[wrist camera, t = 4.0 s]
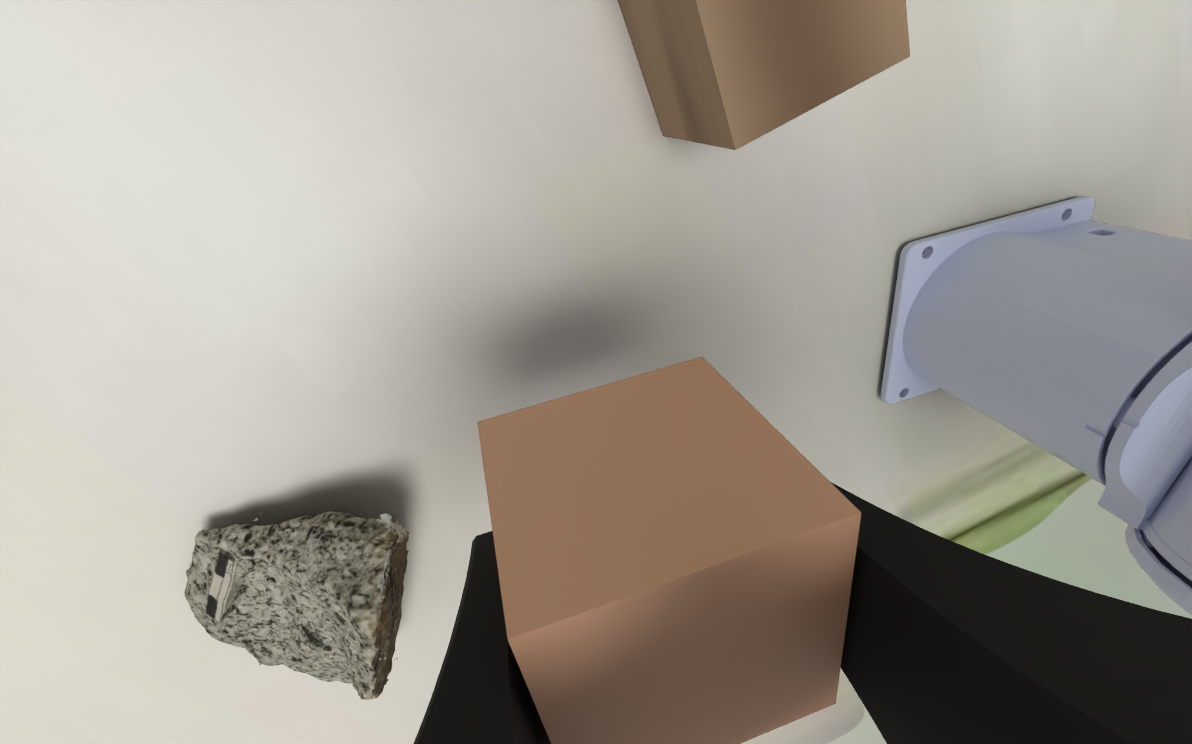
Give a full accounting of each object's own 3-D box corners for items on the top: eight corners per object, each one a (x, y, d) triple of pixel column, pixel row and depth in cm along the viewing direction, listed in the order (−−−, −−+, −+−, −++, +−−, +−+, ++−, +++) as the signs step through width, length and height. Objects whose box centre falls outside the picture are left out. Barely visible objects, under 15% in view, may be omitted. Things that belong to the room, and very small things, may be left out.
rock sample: (27, 561, 14) (234, 800, 12) (287, 399, 19) (464, 555, 17) (167, 643, 22) (307, 797, 20) (327, 513, 27) (451, 629, 25)
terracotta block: (702, 356, 11) (861, 512, 7) (712, 517, 14) (835, 703, 10) (477, 421, 11) (507, 639, 6) (532, 580, 13) (579, 811, 9)
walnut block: (758, -123, 15) (889, -211, 10) (794, 64, 17) (909, 56, 13) (603, -41, 15) (670, -95, 10) (662, 135, 17) (735, 149, 13)
